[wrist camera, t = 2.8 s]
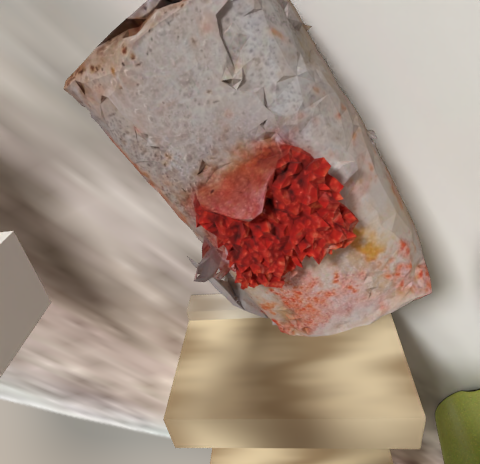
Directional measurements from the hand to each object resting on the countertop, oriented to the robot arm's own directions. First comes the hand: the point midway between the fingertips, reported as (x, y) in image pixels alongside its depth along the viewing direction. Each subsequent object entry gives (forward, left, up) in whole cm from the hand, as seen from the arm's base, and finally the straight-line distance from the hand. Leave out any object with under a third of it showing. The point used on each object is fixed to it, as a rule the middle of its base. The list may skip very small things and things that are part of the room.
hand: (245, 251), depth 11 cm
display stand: (0, +17, -10) cm, 20 cm away
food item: (0, 0, -10) cm, 10 cm away
